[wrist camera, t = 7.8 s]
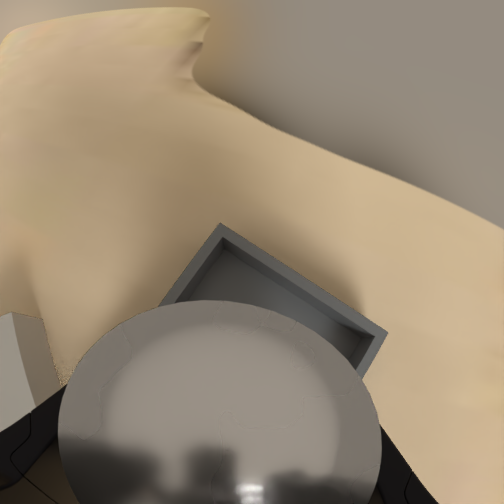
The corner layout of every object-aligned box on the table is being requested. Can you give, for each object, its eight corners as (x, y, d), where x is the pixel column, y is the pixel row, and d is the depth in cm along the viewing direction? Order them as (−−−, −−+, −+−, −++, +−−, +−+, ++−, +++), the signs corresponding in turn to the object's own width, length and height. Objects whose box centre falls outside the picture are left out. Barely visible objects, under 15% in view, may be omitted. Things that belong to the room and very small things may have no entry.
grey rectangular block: (26, 450, 16) (-4, 461, 12) (-8, 339, 18) (-41, 334, 14) (83, 441, 17) (55, 455, 13) (44, 319, 19) (11, 311, 15)
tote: (246, 508, 16) (246, 530, 13) (101, 412, 17) (81, 420, 14) (368, 335, 19) (388, 332, 16) (223, 240, 21) (220, 222, 18)
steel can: (226, 461, 16) (204, 611, 4) (152, 377, 17) (9, 413, 5) (313, 392, 17) (436, 458, 5) (239, 308, 19) (234, 227, 6)
